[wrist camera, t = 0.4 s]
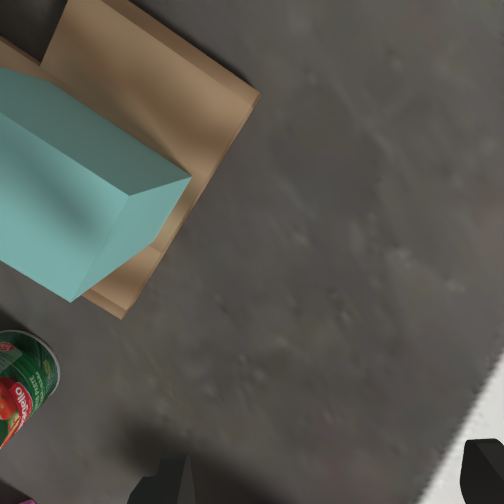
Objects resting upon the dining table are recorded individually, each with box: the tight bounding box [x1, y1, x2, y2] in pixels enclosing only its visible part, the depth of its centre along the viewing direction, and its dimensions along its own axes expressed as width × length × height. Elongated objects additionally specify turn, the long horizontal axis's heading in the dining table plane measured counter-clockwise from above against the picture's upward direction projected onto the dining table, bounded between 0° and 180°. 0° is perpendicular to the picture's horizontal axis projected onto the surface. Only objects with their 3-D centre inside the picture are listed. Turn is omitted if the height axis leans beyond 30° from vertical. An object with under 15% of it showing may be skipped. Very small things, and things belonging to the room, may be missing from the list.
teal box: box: [0, 67, 192, 302], centre depth 22 cm, size 6×12×12 cm, turn 57°
